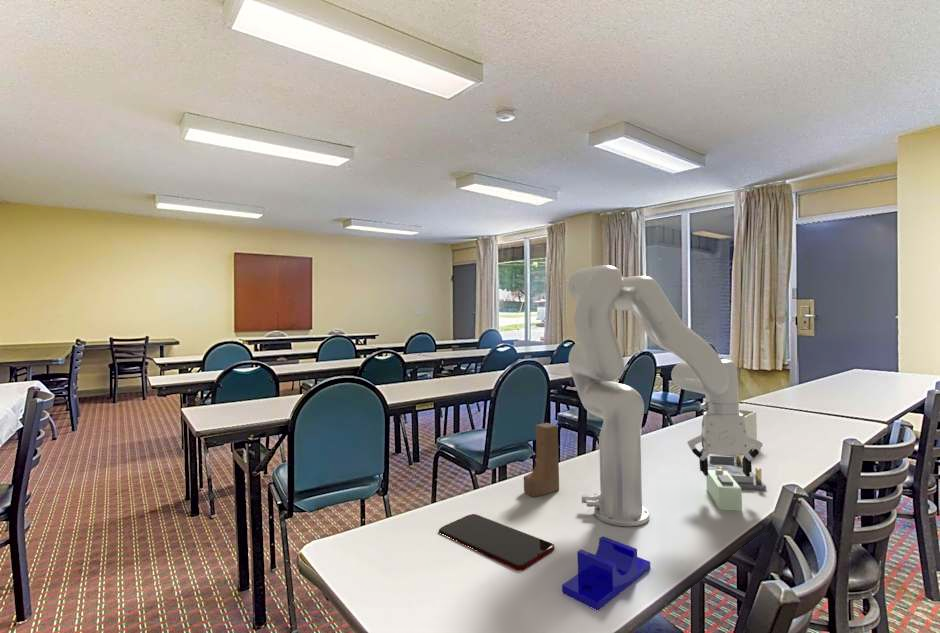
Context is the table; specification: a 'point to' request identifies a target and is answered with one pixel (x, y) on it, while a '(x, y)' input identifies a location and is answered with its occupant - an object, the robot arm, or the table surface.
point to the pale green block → (724, 490)
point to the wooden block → (544, 462)
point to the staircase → (750, 424)
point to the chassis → (737, 471)
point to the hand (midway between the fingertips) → (725, 474)
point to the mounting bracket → (605, 573)
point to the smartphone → (498, 541)
